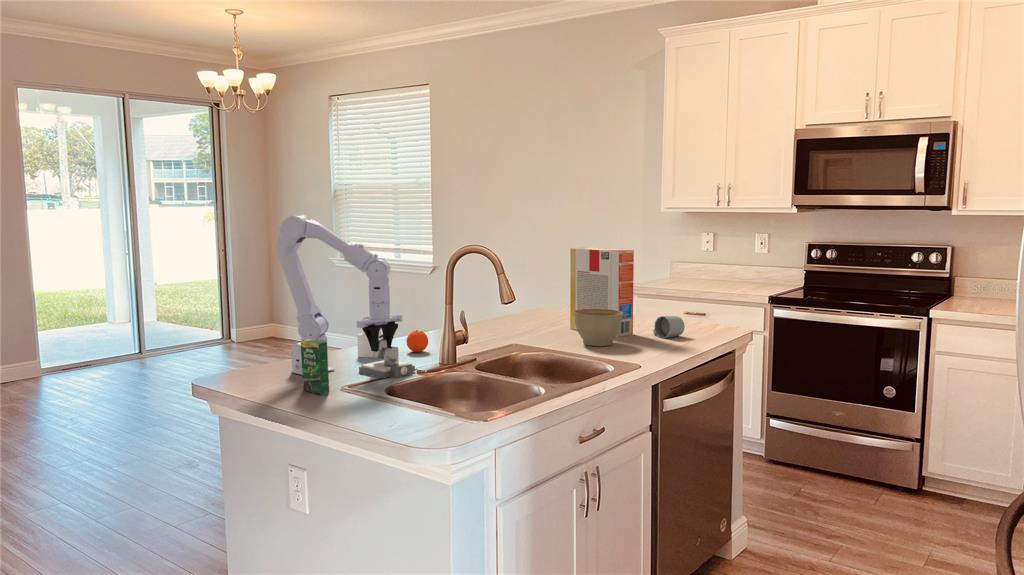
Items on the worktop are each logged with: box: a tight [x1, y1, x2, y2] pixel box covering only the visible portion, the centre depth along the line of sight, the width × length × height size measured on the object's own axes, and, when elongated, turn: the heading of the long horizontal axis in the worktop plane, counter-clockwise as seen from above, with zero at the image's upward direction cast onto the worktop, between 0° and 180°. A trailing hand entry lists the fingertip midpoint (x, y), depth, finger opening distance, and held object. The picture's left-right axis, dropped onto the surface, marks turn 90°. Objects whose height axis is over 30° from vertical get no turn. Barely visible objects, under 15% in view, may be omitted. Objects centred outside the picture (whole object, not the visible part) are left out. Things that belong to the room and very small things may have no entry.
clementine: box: [406, 329, 429, 353], centre depth 236 cm, size 8×7×7 cm
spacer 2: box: [383, 345, 400, 367], centre depth 207 cm, size 4×4×5 cm
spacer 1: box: [373, 338, 388, 359], centre depth 210 cm, size 4×4×5 cm
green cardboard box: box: [299, 339, 330, 396], centre depth 187 cm, size 8×3×13 cm, turn 49°
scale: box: [358, 359, 416, 379], centre depth 208 cm, size 11×13×3 cm
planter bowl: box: [574, 309, 623, 347], centre depth 247 cm, size 16×16×11 cm
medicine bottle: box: [356, 316, 383, 359], centre depth 231 cm, size 7×7×12 cm
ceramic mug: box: [652, 315, 686, 339], centre depth 260 cm, size 11×8×8 cm
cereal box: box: [569, 246, 635, 338], centre depth 269 cm, size 23×8×30 cm, turn 42°
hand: (380, 349), depth 210 cm, fingers closed on spacer 1, 4 cm apart
